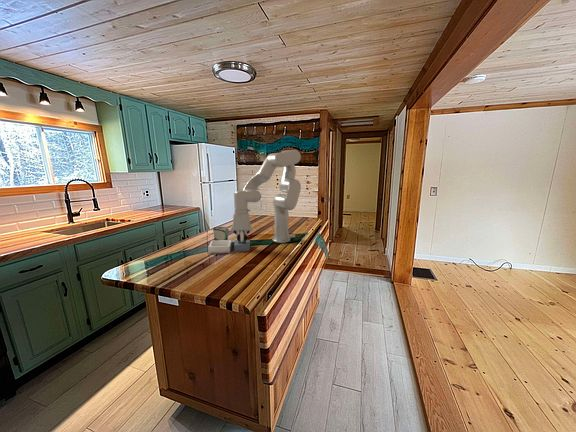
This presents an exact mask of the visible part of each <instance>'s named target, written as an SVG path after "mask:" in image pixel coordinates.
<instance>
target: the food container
mask: <svg viewBox="0 0 576 432" xmlns="http://www.w3.org/2000/svg"><path fill="white" fill-rule="evenodd" d="M212 232H213V237H214V241H218V240H229V238H228V237H229V232H230V229H229V228H228V227H226V226H216V227H215V226H214V227H212Z"/></svg>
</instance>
